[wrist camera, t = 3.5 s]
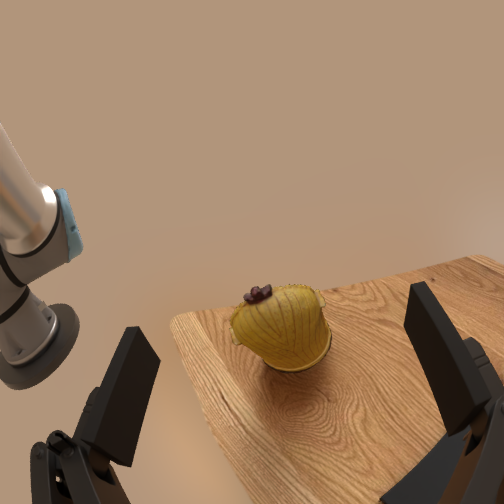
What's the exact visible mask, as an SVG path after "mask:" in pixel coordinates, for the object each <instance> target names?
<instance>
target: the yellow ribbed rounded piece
mask: <svg viewBox="0 0 504 504" xmlns="http://www.w3.org/2000/svg"><path fill="white" fill-rule="evenodd" d="M243 298H244V300H245V301H244V302H243V303H240V306H237V307H236V308H237V309H236V310H235V311H234V313H233V314H232V316H231V319H230V324H231V326H232V327H231V328H229V330H230V332H231V336H232V342H233V343H234V344H235V345H241V344H243V345H244V346H246V347H248V348H250V349H251V350H252V351H253V352H255V353H256V354H257V355H258V356H260V357H261V358H263V359H264V362H265V363H266V364H267V365H268V366H269V367H270V368H272V369H275V370H278V371H280V372H282V373H299V372H302V371H305V370H307V369H309V368H311V367H312V366H313V365H315V364H316V363H317V362H319V361H321V360H322V359H323V358H324V357H325V356H326V354H327V352H328V351H329V349H330V346H331V340H332V334H331V330H330V328H329V325H328V323H327V321H326V319H325V318H324V316H323V312H322V307H325V306H326V303H325V302H324V301H325V300H324V297H323V296H322V295H321V294H320V291H319V290H315V291H314V290H313V289H312V288H311V287H309V286H306V285H304V286H302V285H295V284H294V285H290V284H289V285H287V286H285V287H284V288H283V287H282V286H279V287H274V288H273V289H272V287H271V285H270V284H269V285H266V286H265V287H263V288H261V289H260V288H259V287H258V286H257V287H253V288H252V289H251V293H246V294H245V295H244V297H243Z"/></svg>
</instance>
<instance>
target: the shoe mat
mask: <svg viewBox="0 0 504 504" xmlns="http://www.w3.org/2000/svg"><path fill="white" fill-rule="evenodd" d="M470 430H471V427H470V425H468V426H467V427H466V429H465V430H464V431H461V432H459V433H457V434H455V435H453V436H450V437H448V434H447V433H446V434H445V435H444V436H443V437H442V439H441V440H440V441H439V442H438V443H437V444H436V445H435V447H434V448H433V449H432V450H431V451H430V452H429V453H428V454H427V455H426V456H425V457H424V458H423V459H422V460H421V461H420V462H419V463H418V464H417V465H416V466H415V467H414V468H413V469H412V470H411V471H410V472H409V473H408V474H407V475H406V476H405V477H404V478H403V479H402V480H401V481H399V482H398V483H397V484H396V485H395V486H394V487H393V488H391V489H390V490H389V491H388V492H387V493H386V494H384V495H383V496H382V497H381V498H380V500H381V501H382V502H383V503H384V504H438V502H439V501H440V499H441V497H442V495H443V493H444V491H445V489H446V487H447V485H448V483H449V481H450V479H451V477H452V475H453V473H454V470H455V468H456V466H457V464H458V461H459V459H460V456H461V454H462V451H463V449H464V446H465V444H466V441H467V439H466V440H465V441H463V438H464V436H465V435H466V434H467V433H468V432H469V431H470ZM496 497H497V495H496ZM496 497H495V499H494V502H493V504H495V501H496Z"/></svg>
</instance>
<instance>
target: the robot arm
mask: <svg viewBox="0 0 504 504" xmlns="http://www.w3.org/2000/svg"><path fill="white" fill-rule="evenodd" d="M82 250H83V243H82V240H81V236H80V233H79V230H78V227H77V224H76V221H75V218H74V215H73V212H72V209H71V206H70V202H69V199H68V196H67V193H66V190H65V189H63V188H62V189H59V190H58V189H57V190H54V192H53V191H52V190H51V189H50V187H48V186H47V185H46V184H43V183H40V182H34V180H33V179H32V177H31V175H30V174H29V172H28V171H27V169H26V167H25V166H24V164H23V162H22V161H21V159H20V157H19V156H18V154H17V152H16V150H15V148H14V147H13V145H12V143H11V141H10V139H9V138H8V136H7V134H6V132H5V130H4V128H3V126H2V124H1V122H0V350H1V352H2V354H3V356H4V358H5V359H6V361H7V362H8V363H9V364H10V365H11V366H12V367H14V368H22V367H25V366H28V365H30V364H31V363H33V362H34V361H36V360H37V359H38V358H40V357H41V356H42V355H43V354H44V353H45V352H46V351H47V350H48V348H49V347H50V346H51V344H52V343H53V341H54V340H55V338H56V336H57V334H58V331H59V327H60V322H59V319H58V317H57V316H56V314H55V313H54V312H53V311H52V310H51V309H50V308H49V307H48V306H47V305H46V304H45V302H44V301H43V302H42V301H41V300H39V299H38V298H37V297H36V296H35V295H34V294H33V293H32V292H31V291H30V289H29V287H28V286H27V284H29V283H30V282H32V281H34V280H35V279H37V278H39V277H41V276H43V275H44V274H46V273H48V272H49V271H51V270H53V269H55V268H57V267H59V266H61V265H62V264H64V263H69V262H70V261H71V260H72V259H73V258H75V257H76V256H78V255H79V254H80V253H81V252H82ZM404 328H405V331H406V333H407V335H408V337H409V339H410V341H411V343H412V345H413V348H414V350H415V352H416V354H417V357H418V359H419V361H420V363H421V366H422V368H423V370H424V373H425V375H426V378H427V380H428V382H429V385H430V387H431V390H432V392H433V395H434V398H435V400H436V403H437V406H438V408H439V411H440V414H441V417H442V419H443V422H444V425H445V428H446V431H447V434H448V437H450V436H453V435H455V434H457V433H459V432H461V431H464V430H465V429H466V427H467V426H468V425H470V427H471V430H470V431H469V432H468V433H467V434H466V435H465V436H464V438H463V441H465V440H466V439H467V441H466V444H465V446H464V449H463V451H462V454H461V456H460V459H459V461H458V464H457V466H456V468H455V470H454V473H453V475H452V477H451V479H450V481H449V483H448V485H447V487H446V489H445V491H444V493H443V495H442V497H441V499H440V501H439V502H438V504H493V502H494V499H495V497H496V495H497V497H496V501H495V504H504V386H503V384H502V382H501V380H500V379H499V377H498V375H497V373H496V371H495V369H494V367H493V365H492V364H491V363H490V360H489V358H488V356H487V355H486V353H485V351H484V350H483V348H482V346H481V344H480V343H478V342H477V341H476V340H475V339H474V338H472V337H470V338H467V339H465V340H462V338H461V337H460V335H459V333H458V332H457V330H456V328H455V327H454V325H453V323H452V322H451V320H450V319H449V317H448V316H447V314H446V312H445V311H444V309H443V308H442V306H441V305H440V303H439V302H438V300H437V299H436V297H435V296H434V294H433V293H432V291H431V290H430V288H429V287H428V286H427V284H426V283H425V281H423V282H419V283H414V284H411V285H410V292H409V298H408V304H407V310H406V316H405V321H404ZM160 361H161V360H160V359H159V357H158V356H157V354H156V353H155V351H154V350H153V348H152V347H151V345H150V344H149V342H148V341H147V339H146V337H145V336H144V334H143V333H142V331H141V329H140V328H139V326H136V327H127V328H126V330H125V332H124V334H123V336H122V338H121V340H120V342H119V345H118V347H117V349H116V351H115V353H114V356H113V358H112V360H111V363H110V365H109V367H108V369H107V372H106V374H105V376H104V379H103V381H102V383H101V386H100V387H95V389H94V390H93V391H92V392H91V393H90V395H89V397H88V400H87V402H86V406H85V407H84V409H83V413H82V414H81V417H80V419H79V422H78V425H77V427H76V430H75V433H74V435H73V437H72V438H70V437H69V436H68V435H66V434H65V433H63V432H62V431H60V430H56V431H53V432H52V433H51V434H50V435H49V437H48V438H47V441H46V444H45V443H43V442H37V443H35V444H34V445H33V447H32V449H31V455H30V463H31V464H30V472H31V493H32V504H131V503H130V502H129V500H128V498H127V496H126V494H125V492H124V490H123V488H122V486H121V484H120V482H119V480H118V478H117V476H116V474H115V472H114V469H113V467H112V466H111V465H110V464H109V463H110V460H111V461H113V462H115V463H116V464H118V465H122V466H127V467H131V466H132V462H133V458H134V454H135V450H136V446H137V442H138V438H139V434H140V431H141V427H142V423H143V420H144V416H145V412H146V409H147V405H148V402H149V398H150V395H151V391H152V388H153V385H154V381H155V378H156V375H157V372H158V368H159V365H160ZM56 476H57V477H59V478H60V481H59V482H57V481H56Z"/></svg>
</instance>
